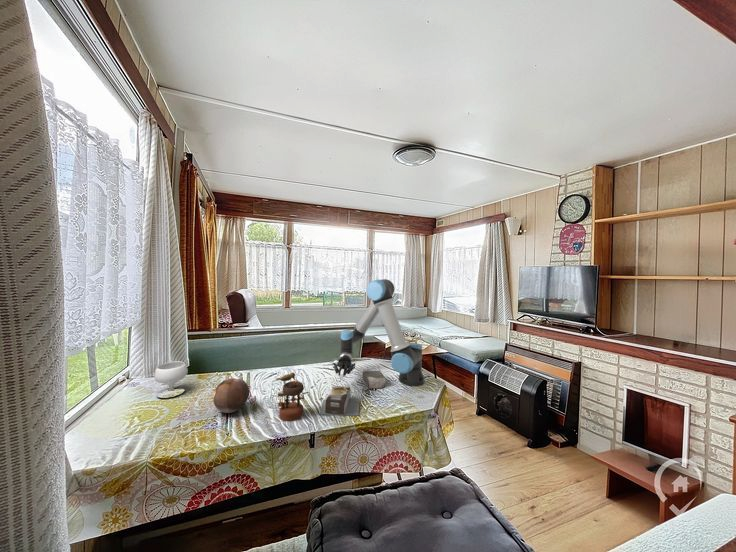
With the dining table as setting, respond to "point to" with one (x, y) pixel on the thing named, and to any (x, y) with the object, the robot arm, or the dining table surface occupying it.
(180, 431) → the dining table surface
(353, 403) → the rubber mat
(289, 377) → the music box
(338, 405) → the coffee box
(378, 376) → the geological specimen
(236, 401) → the wooden sphere
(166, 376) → the chalice
